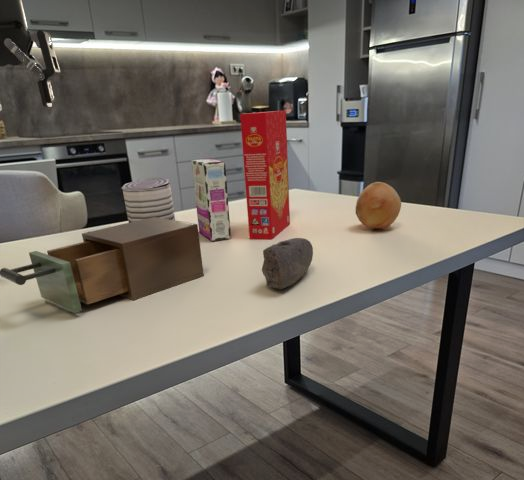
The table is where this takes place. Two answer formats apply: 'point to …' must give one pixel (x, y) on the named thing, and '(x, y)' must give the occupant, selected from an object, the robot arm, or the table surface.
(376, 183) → the onion
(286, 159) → the food packaging
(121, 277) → the drawer
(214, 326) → the table surface
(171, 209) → the can
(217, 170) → the candy bar box
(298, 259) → the perforated stone tool
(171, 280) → the cabinet
